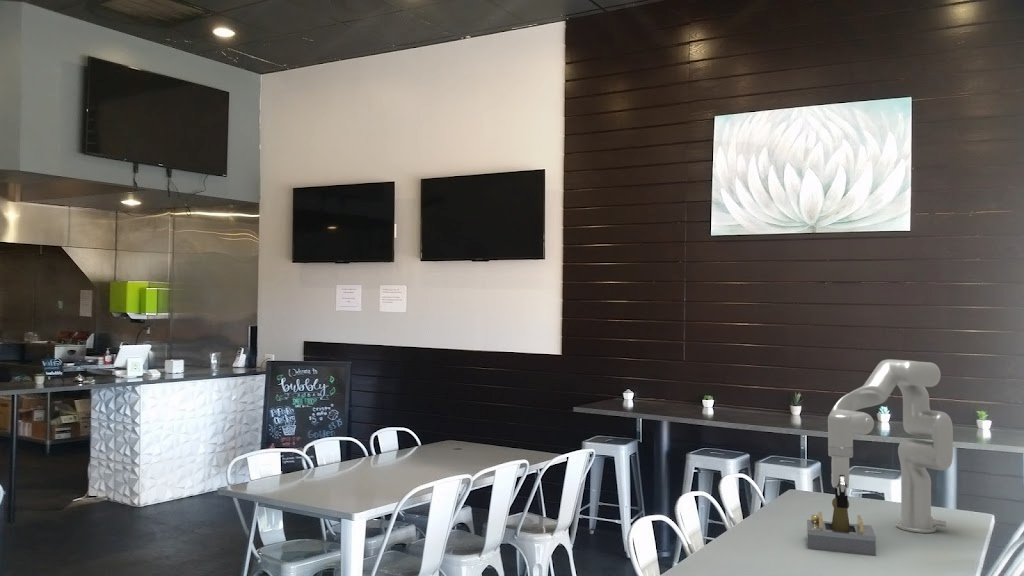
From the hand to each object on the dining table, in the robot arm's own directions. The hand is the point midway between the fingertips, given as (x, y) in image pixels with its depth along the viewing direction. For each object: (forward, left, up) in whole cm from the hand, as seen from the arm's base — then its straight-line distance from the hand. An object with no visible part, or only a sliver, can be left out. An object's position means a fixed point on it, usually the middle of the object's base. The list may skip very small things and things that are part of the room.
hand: (841, 504), depth 262 cm
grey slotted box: (0, +1, -14) cm, 14 cm away
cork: (0, 0, -9) cm, 9 cm away
